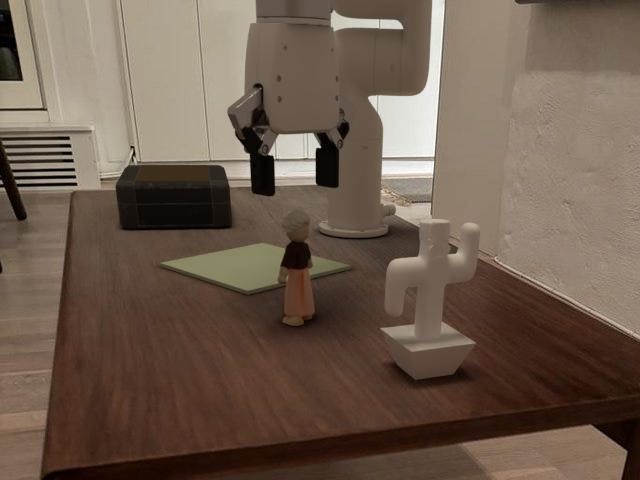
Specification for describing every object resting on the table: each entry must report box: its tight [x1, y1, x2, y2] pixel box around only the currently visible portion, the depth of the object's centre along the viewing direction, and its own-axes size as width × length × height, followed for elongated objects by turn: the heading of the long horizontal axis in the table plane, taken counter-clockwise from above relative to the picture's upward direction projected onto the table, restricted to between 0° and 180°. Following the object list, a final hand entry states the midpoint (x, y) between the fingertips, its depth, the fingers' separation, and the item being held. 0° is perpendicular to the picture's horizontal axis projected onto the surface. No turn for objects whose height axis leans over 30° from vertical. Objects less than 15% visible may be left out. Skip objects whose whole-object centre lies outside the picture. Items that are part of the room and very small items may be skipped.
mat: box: [160, 242, 351, 296], centre depth 110 cm, size 20×20×1 cm
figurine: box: [379, 218, 481, 381], centre depth 73 cm, size 7×9×15 cm
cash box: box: [115, 164, 233, 230], centre depth 141 cm, size 25×20×8 cm
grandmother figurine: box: [277, 209, 316, 327], centre depth 87 cm, size 8×4×13 cm, turn 168°
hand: (296, 190), depth 82 cm, fingers open, 9 cm apart
